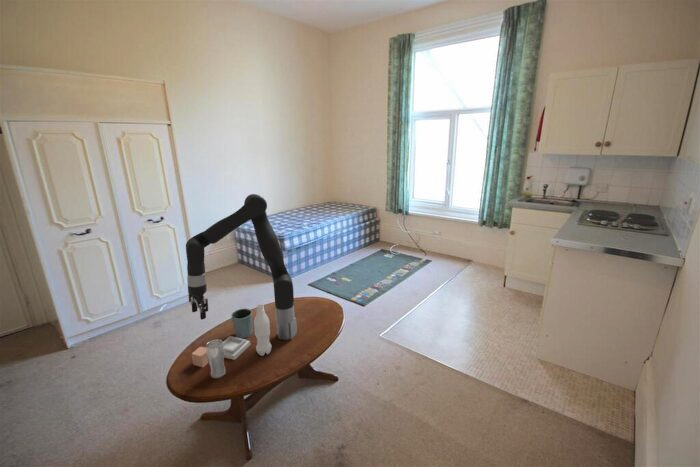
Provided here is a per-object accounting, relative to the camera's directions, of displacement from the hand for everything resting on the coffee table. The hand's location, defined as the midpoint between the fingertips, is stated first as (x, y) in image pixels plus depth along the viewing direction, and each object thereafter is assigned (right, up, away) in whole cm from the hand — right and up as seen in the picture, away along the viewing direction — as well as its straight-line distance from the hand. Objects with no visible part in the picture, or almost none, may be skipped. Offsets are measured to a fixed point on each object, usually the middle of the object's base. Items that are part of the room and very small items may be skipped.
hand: (198, 315), depth 145 cm
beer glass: (+12, -24, -7) cm, 28 cm away
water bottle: (+28, -20, +7) cm, 35 cm away
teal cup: (+13, -16, +22) cm, 30 cm away
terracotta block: (+2, -22, 0) cm, 22 cm away
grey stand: (+12, -19, +9) cm, 24 cm away
